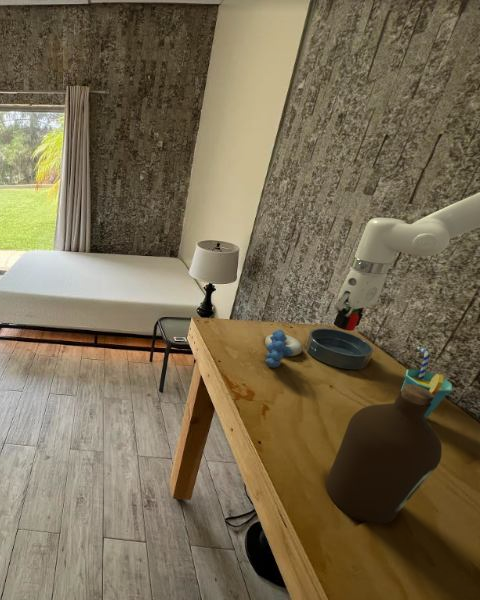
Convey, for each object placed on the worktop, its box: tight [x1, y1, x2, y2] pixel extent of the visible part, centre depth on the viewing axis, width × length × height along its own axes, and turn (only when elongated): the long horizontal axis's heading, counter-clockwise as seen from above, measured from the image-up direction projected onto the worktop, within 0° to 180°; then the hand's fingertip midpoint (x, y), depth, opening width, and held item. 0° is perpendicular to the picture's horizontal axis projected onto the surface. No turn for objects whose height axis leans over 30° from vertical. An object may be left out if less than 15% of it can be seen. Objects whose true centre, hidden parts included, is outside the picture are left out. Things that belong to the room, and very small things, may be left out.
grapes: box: [265, 329, 293, 368], centre depth 89 cm, size 12×7×12 cm, turn 152°
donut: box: [264, 333, 303, 357], centre depth 99 cm, size 10×4×10 cm
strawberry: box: [337, 307, 359, 332], centre depth 91 cm, size 4×4×6 cm
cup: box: [400, 346, 453, 420], centre depth 72 cm, size 14×8×15 cm, turn 156°
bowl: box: [304, 327, 375, 370], centre depth 95 cm, size 15×15×5 cm
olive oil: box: [325, 384, 443, 524], centre depth 51 cm, size 11×11×25 cm
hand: (345, 324), depth 92 cm, fingers closed on strawberry, 4 cm apart
